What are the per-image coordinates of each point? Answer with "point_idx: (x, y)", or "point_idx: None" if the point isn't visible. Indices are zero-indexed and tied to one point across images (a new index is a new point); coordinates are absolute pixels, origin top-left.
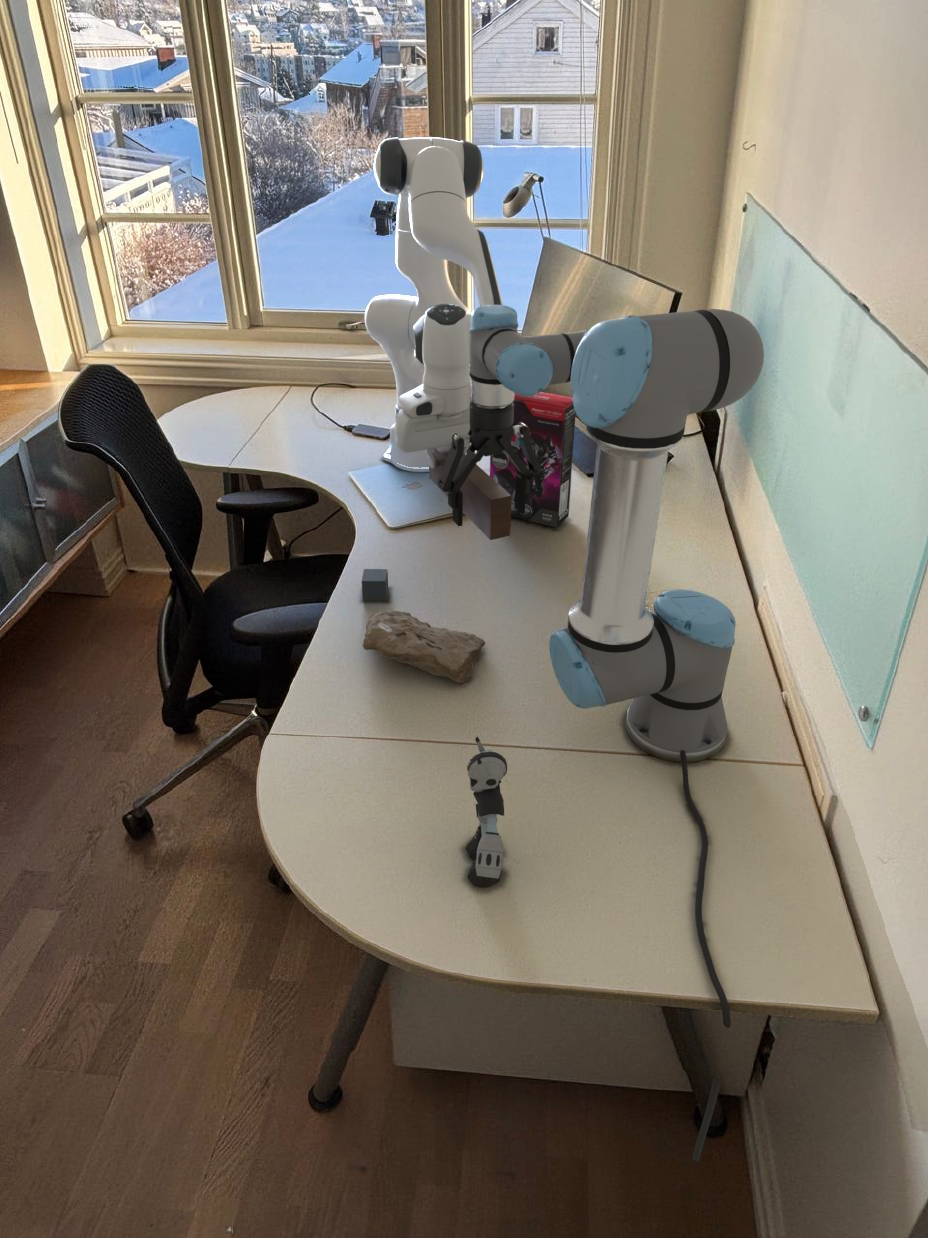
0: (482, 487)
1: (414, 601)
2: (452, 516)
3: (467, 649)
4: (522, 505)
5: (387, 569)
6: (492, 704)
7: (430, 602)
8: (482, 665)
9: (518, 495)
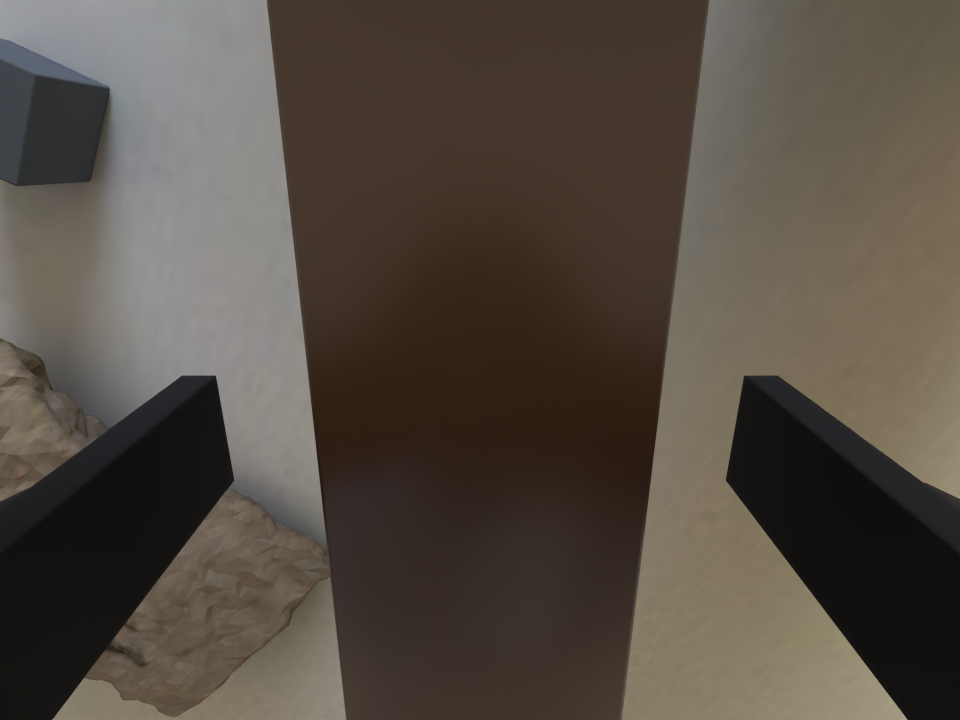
0: (386, 606)
1: (198, 224)
2: (164, 390)
3: (244, 642)
4: (764, 520)
5: (36, 77)
6: (280, 715)
7: (256, 255)
8: (309, 600)
9: (806, 504)
